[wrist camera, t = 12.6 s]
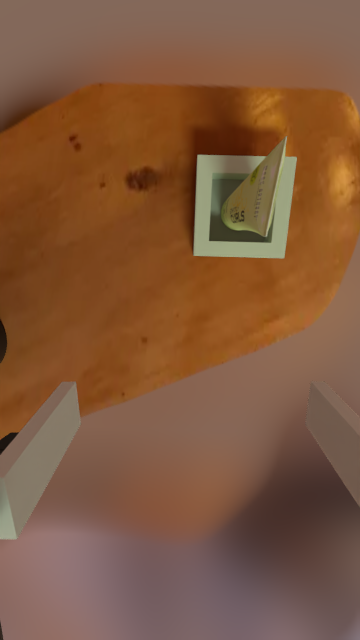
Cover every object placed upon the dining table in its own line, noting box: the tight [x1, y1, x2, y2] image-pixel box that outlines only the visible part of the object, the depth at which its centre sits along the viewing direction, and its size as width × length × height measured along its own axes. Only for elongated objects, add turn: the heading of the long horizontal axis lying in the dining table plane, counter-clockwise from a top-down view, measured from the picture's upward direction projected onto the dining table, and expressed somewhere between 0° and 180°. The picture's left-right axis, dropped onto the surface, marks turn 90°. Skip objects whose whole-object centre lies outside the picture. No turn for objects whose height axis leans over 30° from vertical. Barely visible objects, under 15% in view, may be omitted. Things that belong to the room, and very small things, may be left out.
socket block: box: [193, 155, 297, 258], centre depth 40 cm, size 12×12×4 cm
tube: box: [221, 136, 287, 237], centre depth 32 cm, size 6×5×20 cm
